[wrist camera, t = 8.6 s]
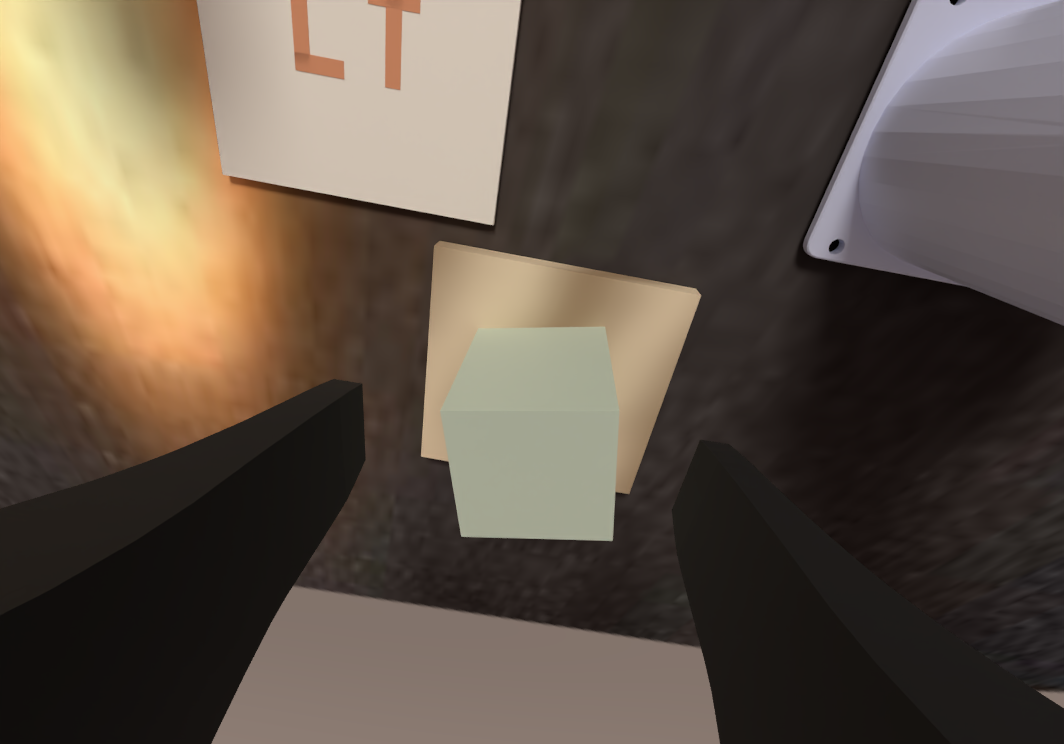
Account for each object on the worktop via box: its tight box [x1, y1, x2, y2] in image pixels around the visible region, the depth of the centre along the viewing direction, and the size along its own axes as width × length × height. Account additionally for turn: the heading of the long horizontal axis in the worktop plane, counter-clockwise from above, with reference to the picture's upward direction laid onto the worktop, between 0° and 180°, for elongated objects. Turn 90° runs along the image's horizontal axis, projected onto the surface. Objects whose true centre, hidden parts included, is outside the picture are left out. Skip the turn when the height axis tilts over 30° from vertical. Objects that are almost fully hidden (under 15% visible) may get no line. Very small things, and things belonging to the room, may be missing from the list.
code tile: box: [197, 0, 522, 225], centre depth 14 cm, size 10×10×1 cm
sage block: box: [440, 327, 619, 541], centre depth 16 cm, size 5×5×6 cm
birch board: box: [421, 241, 701, 494], centre depth 20 cm, size 10×10×1 cm
